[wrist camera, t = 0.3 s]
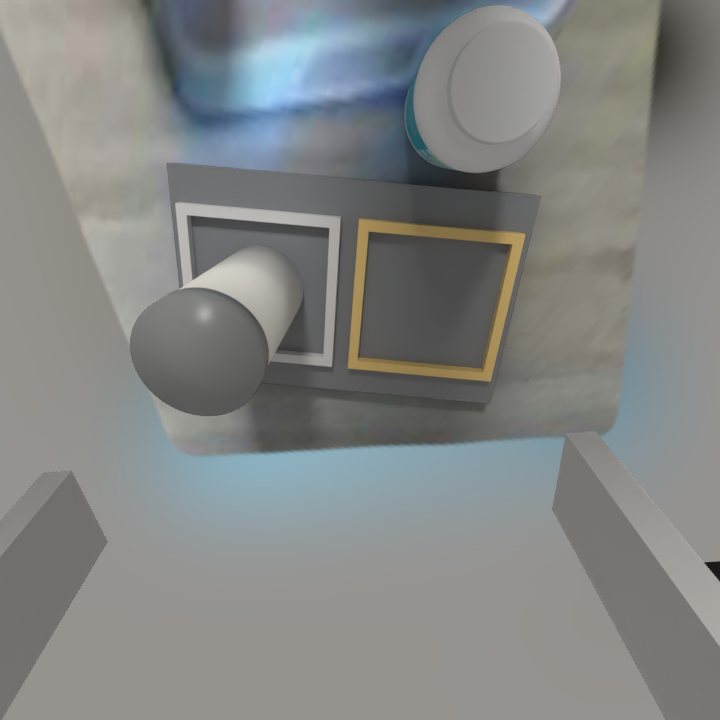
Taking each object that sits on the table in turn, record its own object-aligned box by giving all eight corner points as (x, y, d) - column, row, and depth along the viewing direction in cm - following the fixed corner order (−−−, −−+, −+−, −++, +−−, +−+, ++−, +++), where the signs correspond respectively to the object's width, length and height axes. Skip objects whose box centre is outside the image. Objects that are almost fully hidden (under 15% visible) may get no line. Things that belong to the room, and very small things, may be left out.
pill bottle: (406, 174, 33) (421, 184, 21) (399, 59, 30) (412, -8, 18) (506, 162, 32) (580, 165, 20) (509, 43, 29) (600, -37, 17)
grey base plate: (175, 162, 34) (161, 163, 31) (534, 194, 33) (544, 197, 31) (195, 368, 41) (185, 379, 39) (486, 395, 41) (491, 408, 39)
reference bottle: (216, 240, 34) (120, 289, 22) (305, 248, 34) (261, 302, 22) (221, 324, 38) (139, 409, 25) (303, 332, 37) (263, 421, 25)
